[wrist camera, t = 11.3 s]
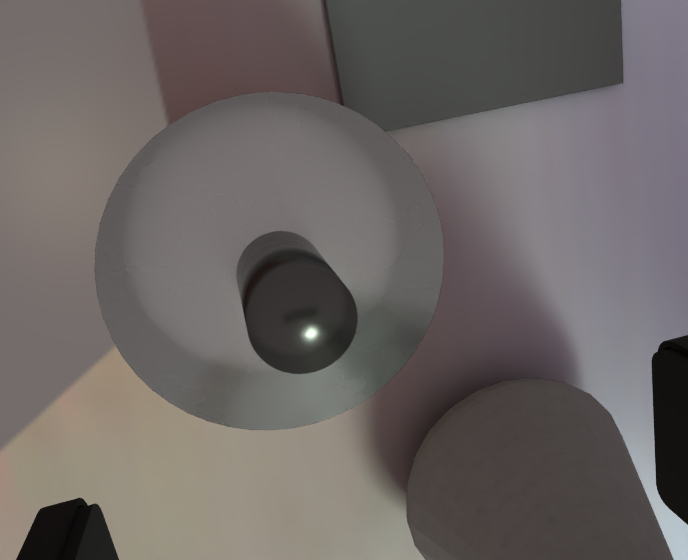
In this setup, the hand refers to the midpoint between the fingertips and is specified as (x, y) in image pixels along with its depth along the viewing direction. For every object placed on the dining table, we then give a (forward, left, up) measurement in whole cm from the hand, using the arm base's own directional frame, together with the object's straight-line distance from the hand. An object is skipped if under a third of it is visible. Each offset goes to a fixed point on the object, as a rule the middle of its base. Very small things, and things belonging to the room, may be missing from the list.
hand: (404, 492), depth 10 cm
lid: (0, -1, -13) cm, 13 cm away
